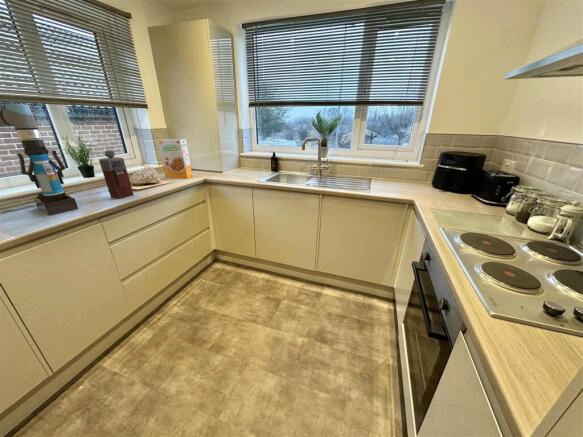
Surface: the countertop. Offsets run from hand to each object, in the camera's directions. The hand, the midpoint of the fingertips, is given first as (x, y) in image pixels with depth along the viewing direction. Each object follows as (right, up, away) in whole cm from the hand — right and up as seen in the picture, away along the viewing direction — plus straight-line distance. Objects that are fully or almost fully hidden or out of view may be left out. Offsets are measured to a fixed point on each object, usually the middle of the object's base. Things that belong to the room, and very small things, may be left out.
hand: (50, 185), depth 122 cm
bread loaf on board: (+16, +8, +53) cm, 56 cm away
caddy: (-4, -11, +8) cm, 14 cm away
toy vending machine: (+18, -3, +27) cm, 33 cm away
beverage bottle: (0, -4, +2) cm, 5 cm away
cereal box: (+29, +18, +77) cm, 85 cm away
